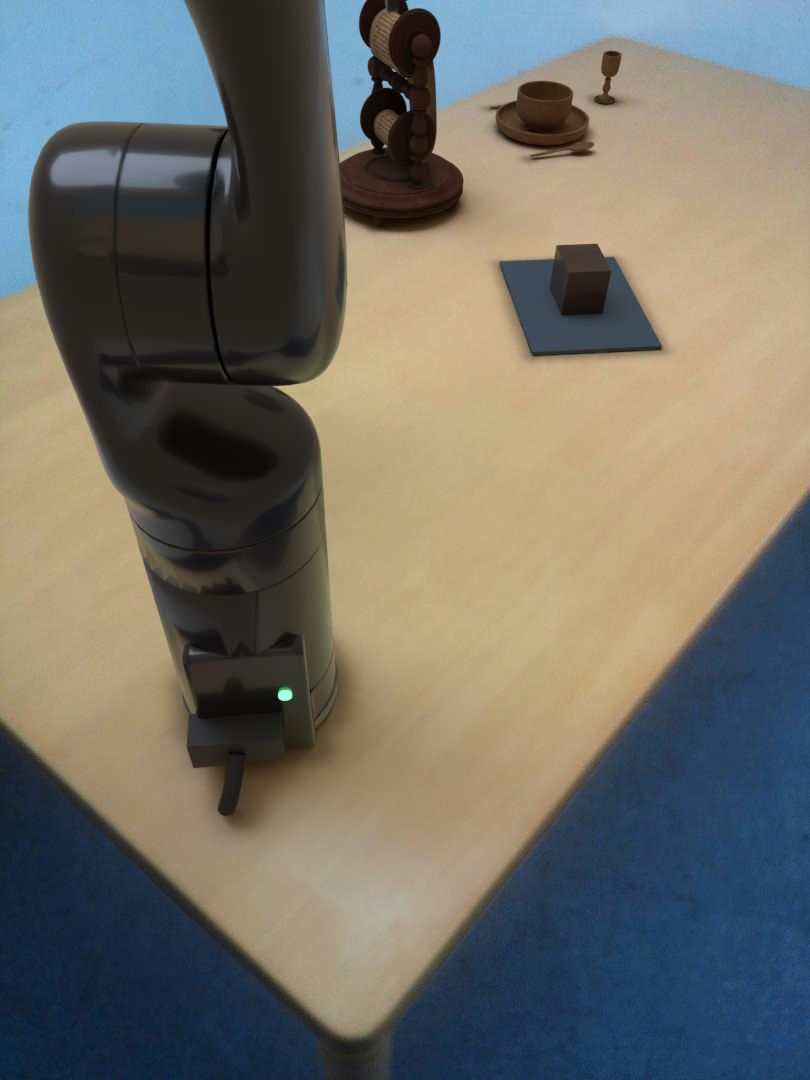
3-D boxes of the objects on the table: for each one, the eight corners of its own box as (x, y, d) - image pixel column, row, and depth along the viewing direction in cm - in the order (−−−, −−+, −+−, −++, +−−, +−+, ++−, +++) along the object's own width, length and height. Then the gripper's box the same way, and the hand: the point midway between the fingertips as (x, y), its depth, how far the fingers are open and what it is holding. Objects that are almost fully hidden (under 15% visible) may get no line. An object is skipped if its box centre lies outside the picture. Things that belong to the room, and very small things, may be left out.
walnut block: (602, 313, 82) (611, 270, 79) (561, 315, 82) (568, 272, 79) (589, 285, 86) (597, 243, 82) (549, 287, 85) (556, 244, 82)
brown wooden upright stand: (486, 214, 96) (504, 10, 82) (365, 242, 92) (362, 31, 77) (423, 162, 105) (430, -30, 91) (310, 185, 100) (298, -14, 86)
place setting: (472, 108, 117) (476, 60, 113) (607, 94, 121) (615, 47, 117) (523, 163, 106) (529, 112, 101) (669, 145, 110) (681, 95, 106)
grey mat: (661, 349, 79) (662, 345, 79) (531, 355, 78) (532, 352, 78) (613, 260, 90) (614, 256, 90) (499, 264, 89) (499, 260, 89)
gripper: (141, -390, 38) (197, 29, 49) (466, -380, 39) (446, 27, 50) (158, -386, 43) (205, -8, 54) (445, -377, 44) (431, -9, 56)
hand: (321, 9), depth 52 cm, fingers open, 8 cm apart
